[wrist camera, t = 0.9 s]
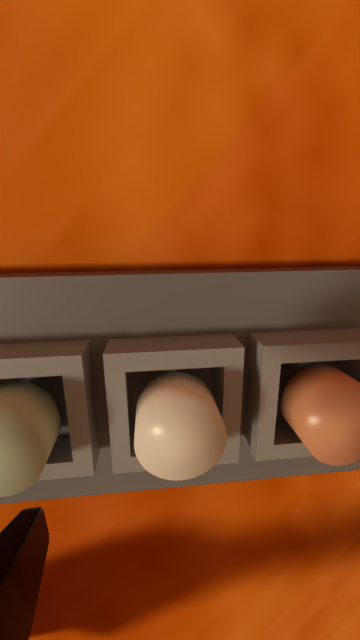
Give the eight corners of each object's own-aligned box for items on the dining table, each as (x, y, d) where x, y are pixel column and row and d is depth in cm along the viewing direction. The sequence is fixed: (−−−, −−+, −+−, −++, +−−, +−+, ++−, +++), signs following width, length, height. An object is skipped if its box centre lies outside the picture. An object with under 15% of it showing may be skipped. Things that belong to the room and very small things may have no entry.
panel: (340, 450, 23) (382, 495, 19) (-19, 481, 20) (-60, 542, 16) (371, 265, 19) (431, 273, 15) (-68, 274, 16) (-138, 287, 12)
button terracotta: (345, 427, 18) (380, 461, 15) (277, 432, 17) (301, 469, 14) (355, 362, 16) (396, 386, 14) (283, 366, 16) (310, 392, 13)
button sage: (67, 449, 16) (50, 492, 13) (-16, 456, 16) (-50, 501, 13) (57, 378, 15) (37, 410, 12) (-32, 383, 14) (-73, 417, 12)
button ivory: (212, 438, 17) (225, 476, 14) (137, 444, 16) (136, 484, 14) (214, 370, 16) (228, 397, 13) (134, 374, 15) (131, 403, 13)
